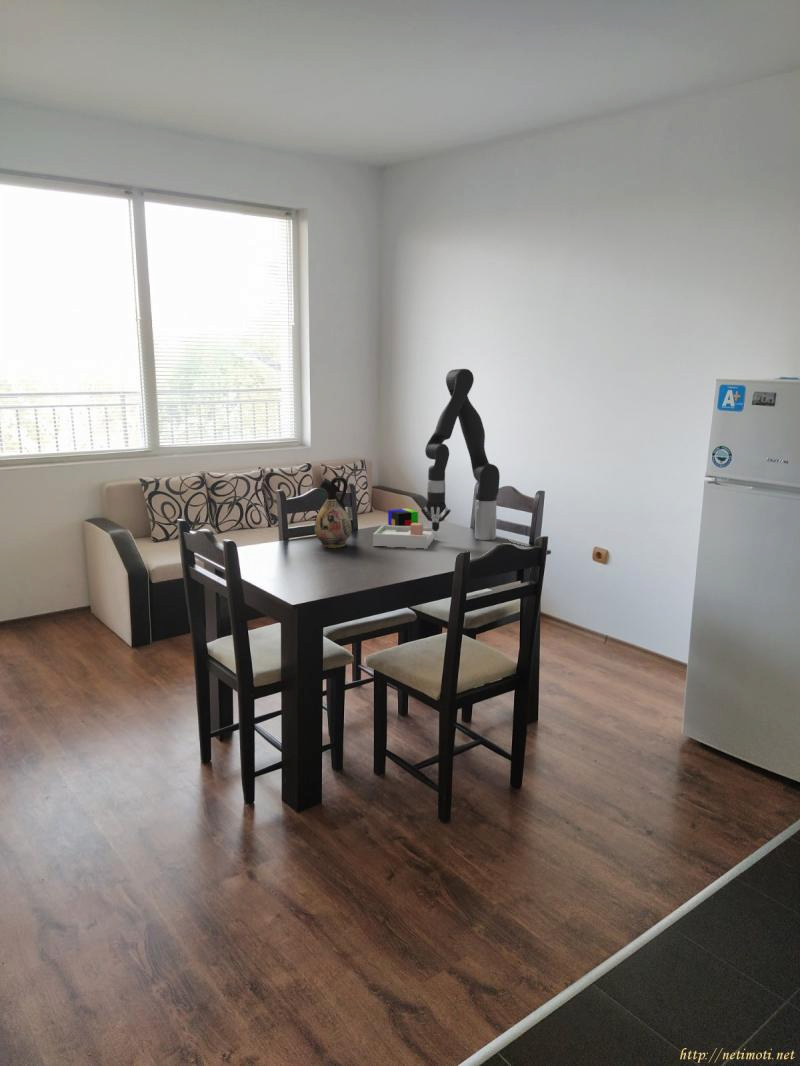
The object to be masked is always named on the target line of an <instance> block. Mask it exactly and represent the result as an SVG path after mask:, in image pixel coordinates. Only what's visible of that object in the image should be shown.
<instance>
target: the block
mask: <svg viewBox="0 0 800 1066" xmlns="http://www.w3.org/2000/svg"><path fill="white" fill-rule="evenodd" d="M423 527H424V526H423V523H422V522H421V523H420V522H418V523H412V524H411V525H410V535H422V534H423Z"/></svg>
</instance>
